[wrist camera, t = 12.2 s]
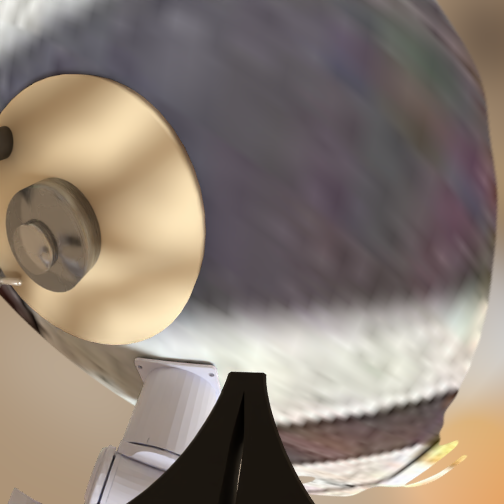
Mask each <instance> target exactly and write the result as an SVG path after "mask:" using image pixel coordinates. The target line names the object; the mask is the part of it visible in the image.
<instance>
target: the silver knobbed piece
mask: <svg viewBox="0 0 504 504" xmlns="http://www.w3.org/2000/svg"><path fill="white" fill-rule="evenodd" d="M2 284H8V285H16V286H21V285H22V280H21V279H19V278H9V277H6V276H5V275H4V273H3V271H2V270H1V268H0V286H1V285H2Z"/></svg>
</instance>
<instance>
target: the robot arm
mask: <svg viewBox="0 0 504 504" xmlns="http://www.w3.org/2000/svg"><path fill="white" fill-rule="evenodd" d="M134 363H135V366H136V368H137V370H138V372H139V374H140V377H141V379H142V381H143V383H144V385H143V388H142V390H141V393H140V395H139V398H138V400H137V403H136V405H135V408H134V410H133V413H132V416H131V418H130V421H129V424H128V426H127V429H126V432H125V435H124V437H123V440H121V442H120V445H119V448H118V450H117V452H116V451H115V450H116V447H114V446H111V445H109V446H108V447H105V448H102V450H101V452H100V454H99V456H98V458H97V461H96V463H95V466H94V469H93V471H92V475H91V477H90V480H89V483H88V486H87V489H86V493H85V497H84V499H85V503H84V504H315V503H314V502H313V500H312V499H311V497H310V496H309V494H308V493H307V491H306V489H305V488H304V486H303V484H302V483H301V481H300V480H299V478H298V476H297V474H296V472H295V470H294V468H293V466H292V464H291V462H290V460H289V458H288V455H287V453H286V451H285V449H284V446H283V444H282V441H281V438H280V436H279V433H278V430H277V427H276V424H275V421H274V418H273V414H272V411H271V407H270V403H269V398H268V393H267V386H266V374H264V373H251V372H230V373H229V374H228V377H227V380H226V382H225V385H224V387H223V389H222V391H221V388H220V383H219V378H218V373H217V368H216V367H215V366H213V365H204V364H191V363H180V362H170V361H161V360H153V359H145V358H135V360H134ZM212 373H213V374H212ZM242 453H243V455H242ZM241 458H242V462H241ZM240 464H241V469H240ZM239 469H240V476H239V483H238V475H239ZM237 485H238V490H237ZM8 504H41V503H40V502H38V501H35V500H34V499H32V498H30V497H29V496H27V495H26V494H24V493H23V492H21V491H19V490H18V489H17V488H14V490H13V492H12V494H11V497H10V499H9V502H8Z"/></svg>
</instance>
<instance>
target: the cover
mask: <svg viewBox="0 0 504 504" xmlns="http://www.w3.org/2000/svg"><path fill="white" fill-rule="evenodd" d="M6 233H7V238H8V242H9V245H10V248H11V250H12V253H13V255H14V257H15V259H16V261H17V262H18V264H19V265H20V267H21V268H22V270H23V271H24V272H25V273H26V274H27V275H28V277H29V278H30V279H32V280H33V281H34V282H35V283H36V284H38V285H39V286H41V287H43V288H45V289H47V290H49V291H53V292H66V291H69V290H71V289H72V288H74V287H75V286H76V285H77V284H78V282H79V281H80V280H81V279H82V278H83V277H84V276H85V275H86V274H87V273H88V272H89V271H90V270H91V269H92V268H93V266H94V265H95V264H96V262H97V260H98V258H99V255H100V251H101V232H100V227H99V223H98V220H97V217H96V214H95V212H94V210H93V208H92V206H91V204H90V203H89V201H88V200H87V198H86V197H85V196H84V194H83V193H82V192H81V191H80V190H79V189H78V188H77V187H76V186H74V185H73V184H72V183H70V182H68V181H66V180H64V179H61V178H56V177H51V178H46V179H43V180H41V181H39V182H36V183H34V184H32V185H30V186H28V187H26V188H24V189H22V190H20V191H18V192H17V193H16V194H15V195H14V196H13V197H12V199H11V201H10V203H9V205H8V208H7V213H6Z"/></svg>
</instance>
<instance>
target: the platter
mask: <svg viewBox="0 0 504 504" xmlns="http://www.w3.org/2000/svg"><path fill="white" fill-rule="evenodd" d="M51 177H56V178H61V179H64V180H66V181H68V182H70V183H72V184H73V185H74V186H76V187H77V188H78V189H79V190H80V191H81V192H82V193H83V194H84V196H85V197H86V198H87V200H88V201H89V203H90V204H91V206H92V208H93V210H94V212H95V214H96V217H97V220H98V223H99V227H100V232H101V251H100V255H99V258H98V260H97V262H96V264H95V265H94V266H93V268H92V269H91V270H90V271H89V272H88V273H87V274H86V275H85V276H84V277H83V278H82V279H81V280H80V281H79V282H78V284H77V285H76V286H75V287H74V288H72V289H71V290H69V291H66V292H53V291H49V290H47V289H45V288H43V287H41V286H39V285H38V284H36V283H35V282H34V281H33V280H32V279H30V278H29V277H28V275H27V274H26V273H25V272H24V271H23V270H22V268H21V267H20V265H19V264H18V262H17V261H16V259H15V257H14V255H13V253H12V250H11V248H10V245H9V242H8V238H7V233H6V213H7V208H8V205H9V203H10V201H11V199H12V197H13V196H14V195H15V194H16V193H17V192H18V191H20V190H22V189H24V188H26V187H28V186H30V185H32V184H34V183H36V182H39V181H41V180H43V179H46V178H51ZM205 237H206V226H205V210H204V205H203V199H202V194H201V189H200V186H199V182H198V179H197V176H196V173H195V169H194V167H193V165H192V162H191V160H190V158H189V156H188V154H187V151H186V149H185V147H184V145H183V144H182V142H181V140H180V139H179V137H178V136H177V134H176V132H175V131H174V129H173V128H172V126H171V125H170V124H169V123H168V121H167V120H166V119H165V118H164V117H163V115H162V114H161V113H160V112H159V111H158V110H157V109H156V108H155V107H154V106H153V105H152V104H151V103H150V102H148V101H147V100H146V99H145V98H144V97H143V96H141V95H140V94H138V93H137V92H135V91H134V90H132V89H130V88H129V87H127V86H125V85H123V84H121V83H118V82H116V81H113V80H111V79H107V78H103V77H98V76H93V75H80V74H63V75H58V76H53V77H48V78H46V79H43V80H41V81H38V82H36V83H34V84H32V85H31V86H29V87H27V88H26V89H24V90H23V91H21V92H20V93H19V94H18V95H17V96H16V97H15V98H13V99H12V100H11V102H10V103H9V104H8V105H7V106H6V107H5V109H4V110H3V111H2V113H1V114H0V268H1V270H2V271H3V273H4V275H5V276H6V277H9V278H19V279H21V280H22V285H21V286H16V285H12V286H13V288H14V289H15V290H16V292H17V293H18V294H19V295H20V296H21V298H22V299H23V300H24V301H25V302H26V303H27V304H28V305H29V306H30V307H31V308H32V309H33V310H34V311H36V312H37V313H38V314H39V315H40V316H41V317H43V318H44V319H45V320H47V321H48V322H50V323H51V324H53V325H54V326H56V327H58V328H59V329H61V330H63V331H64V332H67V333H69V334H71V335H73V336H75V337H78V338H81V339H84V340H87V341H90V342H95V343H100V344H109V345H123V344H131V343H136V342H140V341H143V340H145V339H148V338H151V337H152V336H154V335H156V334H158V333H159V332H161V331H162V330H164V329H165V328H166V327H167V326H169V325H170V324H171V323H172V322H173V321H174V320H175V318H176V317H177V316H178V315H179V314H180V313H181V311H182V309H183V308H184V306H185V304H186V303H187V301H188V299H189V297H190V295H191V292H192V290H193V287H194V285H195V282H196V280H197V277H198V275H199V272H200V269H201V265H202V260H203V256H204V250H205Z"/></svg>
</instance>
